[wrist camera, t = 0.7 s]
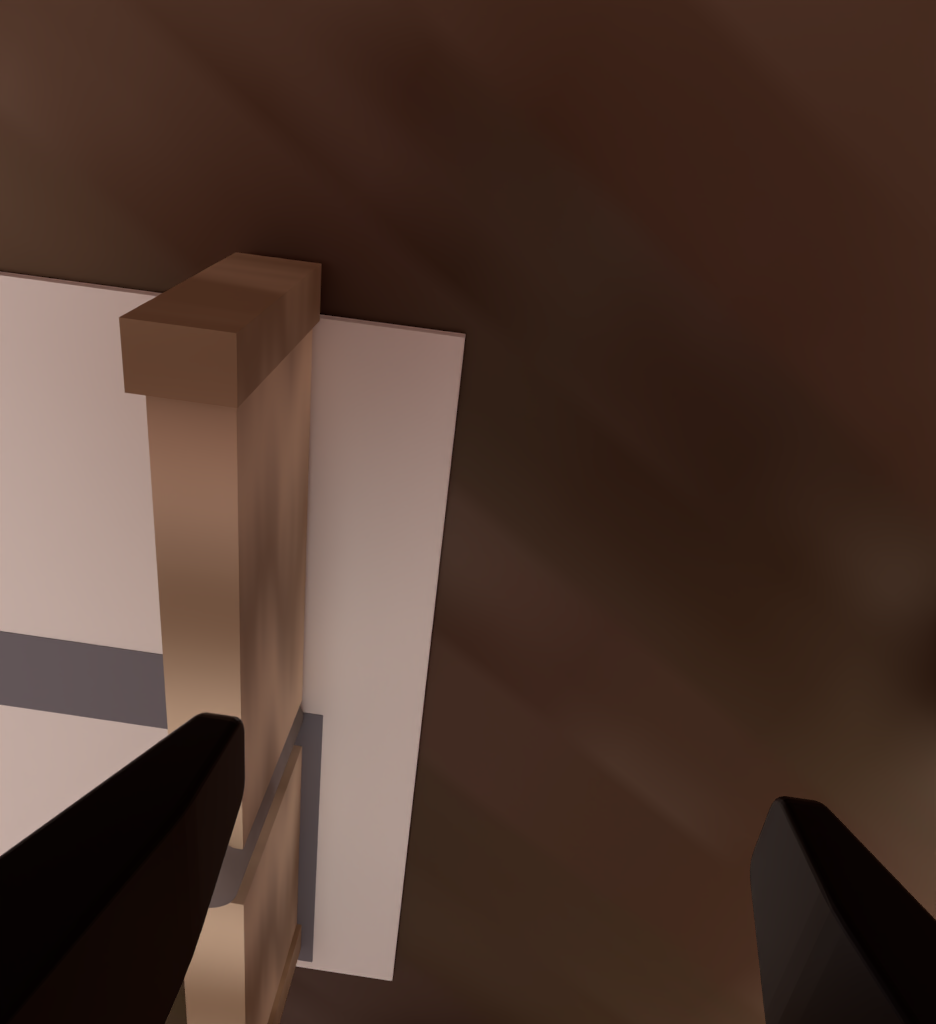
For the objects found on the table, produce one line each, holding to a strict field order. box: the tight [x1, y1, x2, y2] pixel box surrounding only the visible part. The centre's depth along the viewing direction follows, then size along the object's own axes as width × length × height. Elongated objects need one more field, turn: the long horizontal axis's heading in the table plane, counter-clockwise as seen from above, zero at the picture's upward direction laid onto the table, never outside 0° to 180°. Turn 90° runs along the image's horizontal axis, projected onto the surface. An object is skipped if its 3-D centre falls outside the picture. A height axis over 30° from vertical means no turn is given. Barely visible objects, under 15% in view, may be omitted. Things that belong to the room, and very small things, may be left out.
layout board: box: [0, 271, 466, 981], centre depth 24 cm, size 22×17×1 cm
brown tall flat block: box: [119, 252, 322, 908], centre depth 18 cm, size 13×2×6 cm, turn 174°
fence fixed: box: [184, 745, 302, 1024], centre depth 23 cm, size 9×2×6 cm, turn 174°
